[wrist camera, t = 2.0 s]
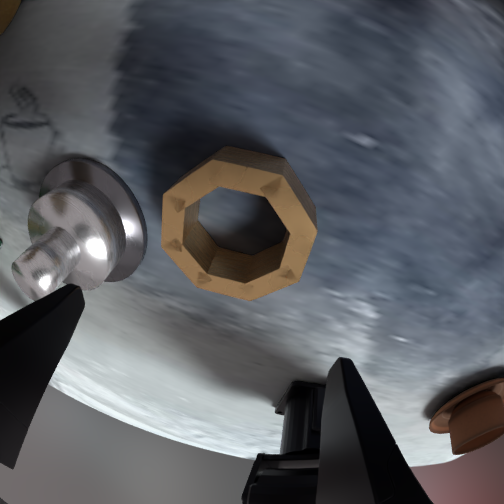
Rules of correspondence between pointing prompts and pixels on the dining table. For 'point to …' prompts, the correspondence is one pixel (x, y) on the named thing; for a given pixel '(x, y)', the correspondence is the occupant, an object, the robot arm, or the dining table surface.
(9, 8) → the plant pot
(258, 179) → the ring
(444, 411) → the cup and saucer
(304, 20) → the dining table surface
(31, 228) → the silver flanged knob
